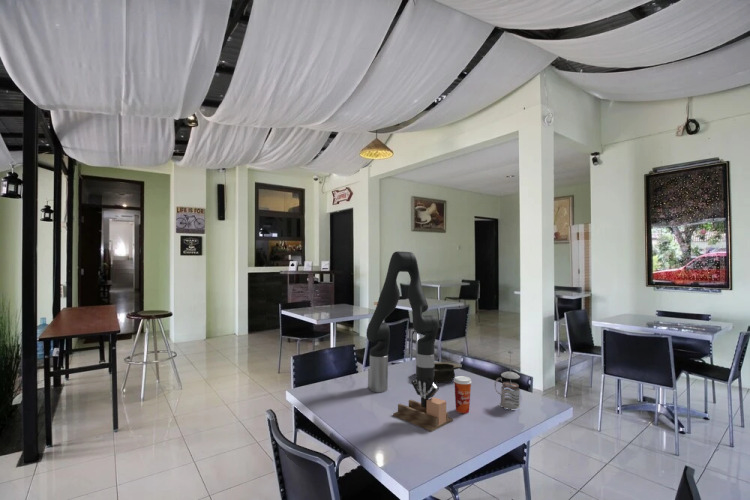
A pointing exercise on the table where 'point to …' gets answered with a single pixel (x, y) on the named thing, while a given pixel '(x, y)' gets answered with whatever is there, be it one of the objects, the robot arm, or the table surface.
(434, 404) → the block
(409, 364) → the table surface
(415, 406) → the chute
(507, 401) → the french press
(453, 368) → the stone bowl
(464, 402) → the paper cup
